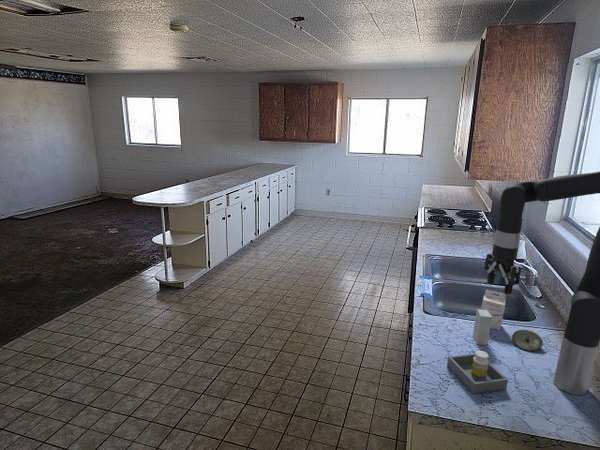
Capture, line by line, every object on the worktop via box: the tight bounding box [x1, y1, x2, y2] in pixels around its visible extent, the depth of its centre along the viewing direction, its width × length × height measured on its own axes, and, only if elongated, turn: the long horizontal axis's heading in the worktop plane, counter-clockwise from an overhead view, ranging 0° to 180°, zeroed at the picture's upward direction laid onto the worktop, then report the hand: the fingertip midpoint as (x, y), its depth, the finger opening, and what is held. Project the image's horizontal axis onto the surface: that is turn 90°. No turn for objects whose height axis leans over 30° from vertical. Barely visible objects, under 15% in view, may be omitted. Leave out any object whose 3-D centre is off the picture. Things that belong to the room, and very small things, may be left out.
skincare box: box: [472, 308, 492, 345], centre depth 156 cm, size 6×4×12 cm
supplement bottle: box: [471, 350, 490, 380], centre depth 134 cm, size 5×5×8 cm
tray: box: [446, 352, 509, 396], centre depth 135 cm, size 12×15×4 cm
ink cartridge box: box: [480, 289, 507, 331], centre depth 168 cm, size 9×5×15 cm, turn 59°
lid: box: [511, 329, 544, 352], centre depth 155 cm, size 11×10×5 cm
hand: (498, 288), depth 138 cm, fingers open, 8 cm apart
